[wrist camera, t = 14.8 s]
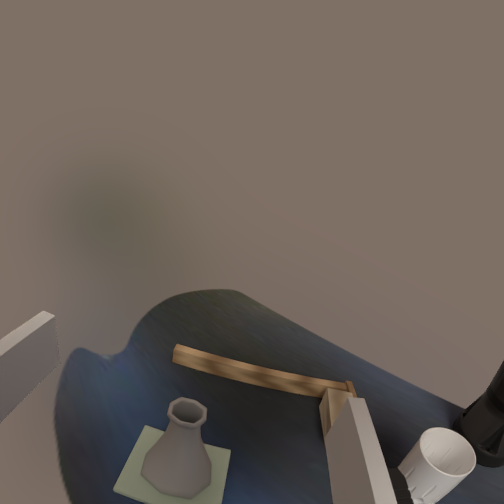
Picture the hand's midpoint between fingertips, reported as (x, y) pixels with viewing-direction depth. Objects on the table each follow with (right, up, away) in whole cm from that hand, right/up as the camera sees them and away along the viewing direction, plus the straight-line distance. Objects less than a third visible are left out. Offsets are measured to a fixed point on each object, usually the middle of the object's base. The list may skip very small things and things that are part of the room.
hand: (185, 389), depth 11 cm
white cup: (+20, -24, +11) cm, 33 cm away
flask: (-5, -16, +12) cm, 21 cm away
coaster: (-5, -17, +12) cm, 21 cm away
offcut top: (+14, -17, +24) cm, 33 cm away
